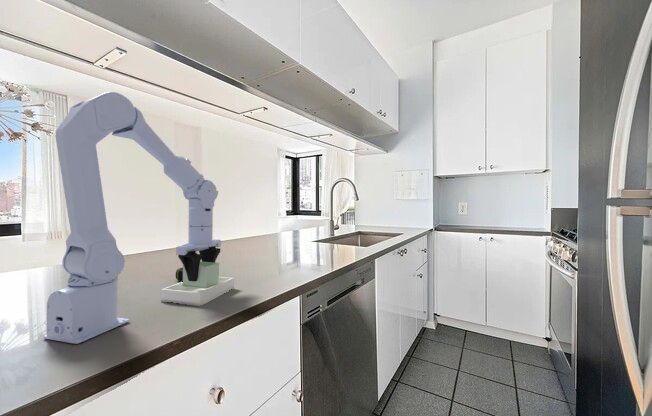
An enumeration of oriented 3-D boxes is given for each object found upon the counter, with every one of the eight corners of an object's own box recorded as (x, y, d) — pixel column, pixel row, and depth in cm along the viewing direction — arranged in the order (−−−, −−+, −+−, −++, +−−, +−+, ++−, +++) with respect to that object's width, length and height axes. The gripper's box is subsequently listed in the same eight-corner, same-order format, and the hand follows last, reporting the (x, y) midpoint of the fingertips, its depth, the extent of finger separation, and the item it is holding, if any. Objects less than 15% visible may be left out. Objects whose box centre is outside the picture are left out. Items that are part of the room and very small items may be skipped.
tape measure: (200, 282, 84) (200, 269, 84) (175, 284, 81) (175, 272, 81) (199, 276, 90) (199, 265, 90) (175, 279, 87) (175, 267, 87)
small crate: (206, 288, 69) (206, 266, 69) (182, 286, 70) (183, 264, 70) (218, 283, 73) (219, 262, 73) (196, 281, 75) (196, 261, 75)
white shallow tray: (200, 306, 64) (200, 293, 64) (160, 301, 66) (160, 289, 66) (234, 288, 77) (234, 277, 77) (200, 285, 80) (200, 275, 80)
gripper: (194, 228, 64) (194, 287, 64) (230, 224, 78) (229, 272, 78) (168, 227, 65) (168, 284, 66) (208, 223, 80) (208, 270, 80)
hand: (200, 278), depth 72 cm, fingers closed on small crate, 5 cm apart
